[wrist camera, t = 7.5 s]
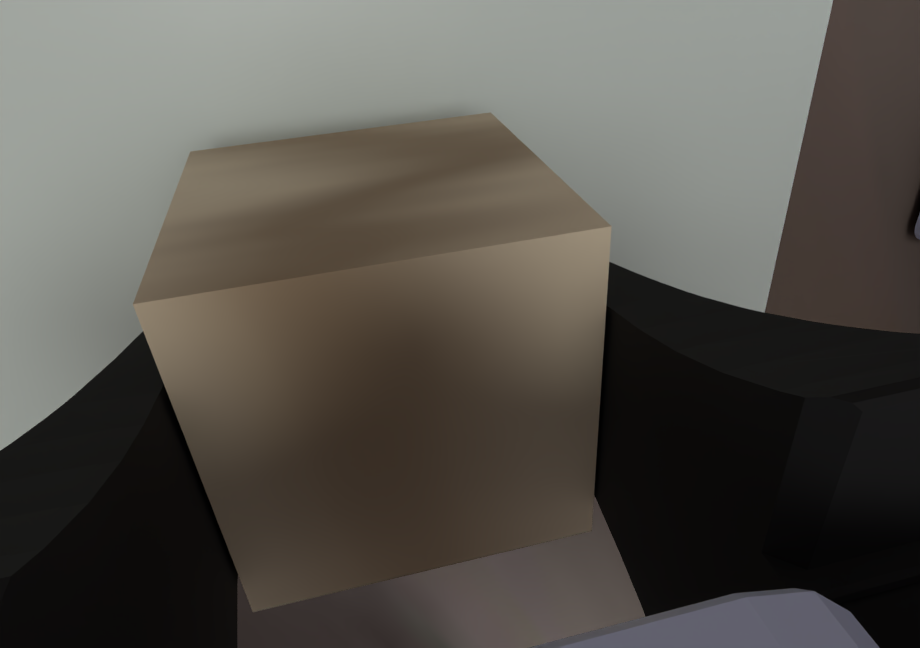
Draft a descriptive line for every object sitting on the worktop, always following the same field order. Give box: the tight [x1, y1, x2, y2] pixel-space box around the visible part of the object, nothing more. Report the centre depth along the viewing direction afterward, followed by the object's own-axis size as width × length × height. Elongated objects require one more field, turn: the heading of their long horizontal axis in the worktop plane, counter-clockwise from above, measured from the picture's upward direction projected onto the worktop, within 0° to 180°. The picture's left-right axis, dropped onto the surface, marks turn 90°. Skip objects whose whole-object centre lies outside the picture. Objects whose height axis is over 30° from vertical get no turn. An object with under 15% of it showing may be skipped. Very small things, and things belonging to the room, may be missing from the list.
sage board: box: [0, 0, 833, 450], centre depth 14 cm, size 20×14×1 cm
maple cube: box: [133, 112, 612, 612], centre depth 10 cm, size 5×5×5 cm
